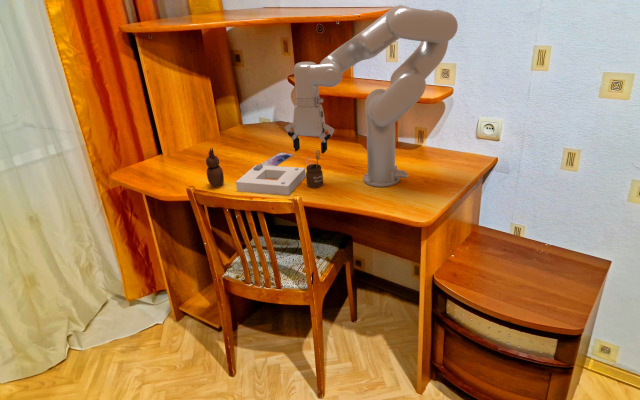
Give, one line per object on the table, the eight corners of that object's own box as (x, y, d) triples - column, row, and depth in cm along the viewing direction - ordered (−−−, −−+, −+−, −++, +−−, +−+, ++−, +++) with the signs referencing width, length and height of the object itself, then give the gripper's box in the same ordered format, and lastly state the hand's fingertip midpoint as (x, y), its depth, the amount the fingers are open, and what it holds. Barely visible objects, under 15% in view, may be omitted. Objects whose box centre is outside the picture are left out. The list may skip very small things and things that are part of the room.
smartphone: (294, 154, 189) (273, 167, 178) (294, 156, 189) (273, 169, 178) (280, 152, 192) (258, 164, 181) (280, 153, 193) (258, 166, 182)
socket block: (305, 176, 168) (304, 166, 166) (289, 195, 154) (287, 183, 152) (257, 173, 174) (255, 162, 172) (237, 190, 161) (235, 179, 159)
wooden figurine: (226, 187, 164) (218, 148, 158) (209, 190, 163) (202, 151, 156) (224, 180, 170) (217, 142, 164) (208, 183, 169) (200, 145, 162)
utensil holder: (303, 186, 160) (300, 154, 155) (314, 179, 165) (311, 148, 159) (316, 189, 157) (313, 157, 152) (327, 183, 161) (325, 151, 156)
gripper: (336, 99, 148) (337, 149, 156) (287, 97, 154) (291, 145, 161) (329, 105, 142) (331, 157, 149) (278, 103, 147) (282, 153, 155)
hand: (310, 151), depth 155 cm, fingers open, 9 cm apart
